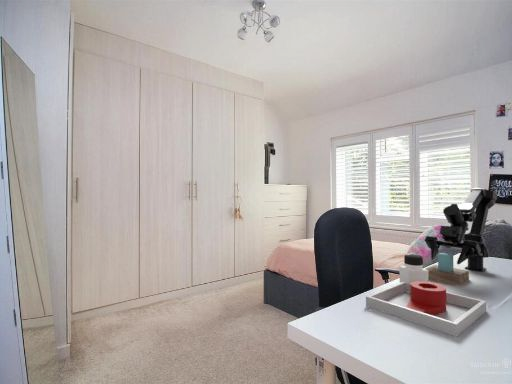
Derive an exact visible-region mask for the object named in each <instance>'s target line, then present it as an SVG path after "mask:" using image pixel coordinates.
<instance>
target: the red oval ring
mask: <svg viewBox="0 0 512 384" xmlns="http://www.w3.org/2000/svg"><path fill="white" fill-rule="evenodd" d="M446 292H447V287H446V286H444V285H443V284H439V283H437V282H436V283H435V282H431V281H429V282H426V281H414V282H411V283H410V292H409V299H408V302H407V304H406V306H405V307H406V308H410V309H413V310H416V311H419V312H423V313H426V314H429V315H432V316H437V315H440V314H445V313H446V312H447V302H446Z"/></svg>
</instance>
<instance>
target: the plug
mask: <svg viewBox="0 0 512 384" xmlns="http://www.w3.org/2000/svg"><path fill="white" fill-rule="evenodd" d="M437 265H438V270H441V271H446V272H452V271H453V268H454V253H449V252H443V251H442V252H438V253H437Z"/></svg>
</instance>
